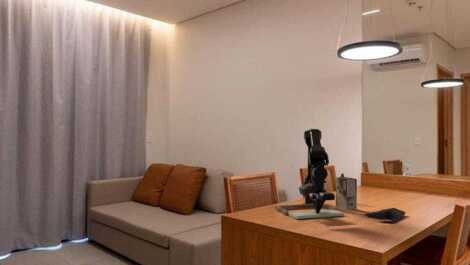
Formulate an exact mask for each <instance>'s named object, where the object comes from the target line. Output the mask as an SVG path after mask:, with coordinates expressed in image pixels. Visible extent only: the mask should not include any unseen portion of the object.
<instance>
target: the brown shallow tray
mask: <svg viewBox="0 0 470 265" xmlns="http://www.w3.org/2000/svg"><path fill="white" fill-rule="evenodd" d="M305 209H306V210H307V209H315V208H314V205H313V204H301V203H298V204H286V205H285V204H283V205H282V204H281V205H274V211H277V213H280V214H282V215H283V216H288V213H289V211H291V210H305ZM321 209H323V210H337V207H336V206H335V207H334V206H332V205H328V204H326V203H324V204H323V206H322V208H321ZM288 210H289V211H288Z"/></svg>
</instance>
